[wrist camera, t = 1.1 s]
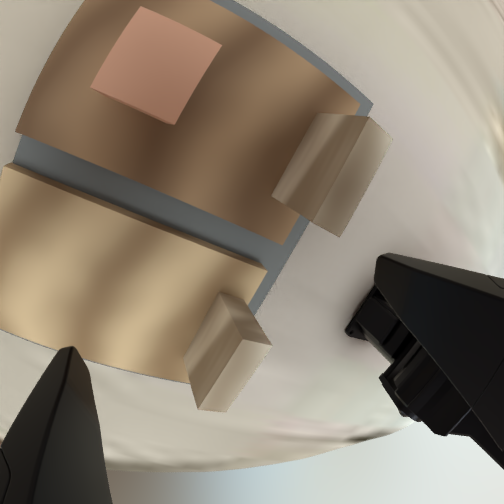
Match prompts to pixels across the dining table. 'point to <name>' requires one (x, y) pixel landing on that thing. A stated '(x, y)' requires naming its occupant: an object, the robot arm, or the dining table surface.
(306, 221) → the lane mat
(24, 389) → the dining table surface
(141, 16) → the block
